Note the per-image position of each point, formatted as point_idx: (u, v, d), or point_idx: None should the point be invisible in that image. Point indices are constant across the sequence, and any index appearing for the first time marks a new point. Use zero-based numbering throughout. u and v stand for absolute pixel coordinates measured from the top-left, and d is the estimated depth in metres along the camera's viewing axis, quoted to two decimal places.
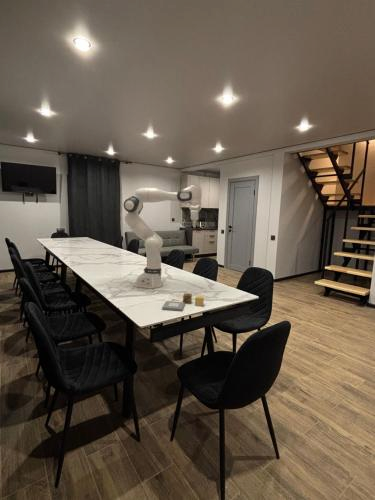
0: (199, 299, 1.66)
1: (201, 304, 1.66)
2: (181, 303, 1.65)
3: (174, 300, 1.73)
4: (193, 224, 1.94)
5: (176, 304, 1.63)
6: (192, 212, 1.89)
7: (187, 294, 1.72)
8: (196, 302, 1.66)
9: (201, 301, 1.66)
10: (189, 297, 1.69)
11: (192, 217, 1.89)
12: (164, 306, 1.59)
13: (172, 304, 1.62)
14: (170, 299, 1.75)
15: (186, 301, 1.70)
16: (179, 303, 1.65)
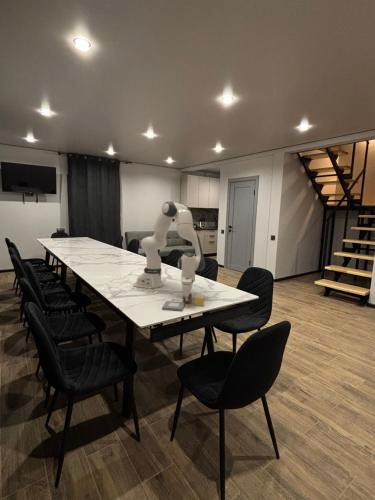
0: (199, 299, 1.66)
1: (201, 304, 1.66)
2: (181, 303, 1.65)
3: (174, 300, 1.73)
4: (186, 299, 1.68)
5: (176, 304, 1.63)
6: (184, 288, 1.62)
7: None
8: (196, 302, 1.66)
9: (201, 301, 1.66)
10: (189, 297, 1.69)
11: (184, 294, 1.62)
12: (164, 306, 1.59)
13: (172, 304, 1.62)
14: (170, 299, 1.75)
15: (186, 301, 1.70)
16: (179, 303, 1.65)
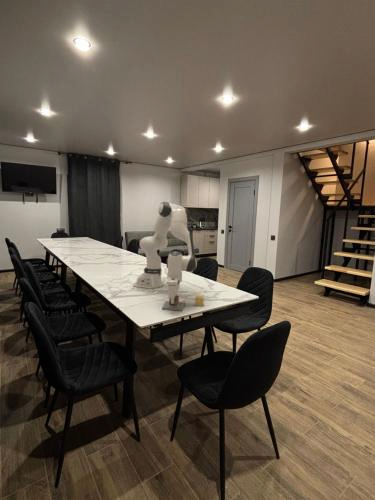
0: (199, 299, 1.66)
1: (201, 304, 1.66)
2: (181, 303, 1.65)
3: None
4: (171, 301, 1.57)
5: None
6: (170, 289, 1.51)
7: None
8: (196, 302, 1.66)
9: (201, 301, 1.66)
10: (175, 299, 1.59)
11: (169, 295, 1.51)
12: (164, 306, 1.59)
13: None
14: None
15: (172, 304, 1.60)
16: (179, 303, 1.65)
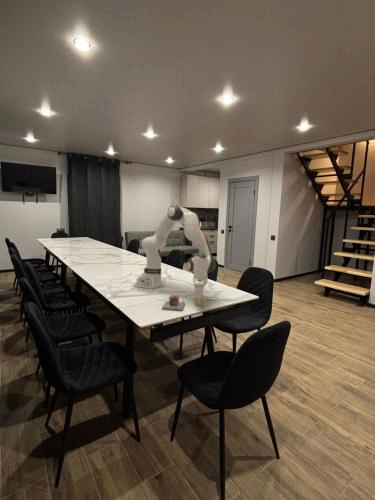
0: None
1: (201, 304, 1.66)
2: (181, 303, 1.65)
3: None
4: (198, 301, 1.64)
5: None
6: (197, 290, 1.58)
7: (174, 296, 1.62)
8: (196, 302, 1.66)
9: (201, 301, 1.66)
10: (175, 299, 1.59)
11: (197, 296, 1.58)
12: (164, 306, 1.59)
13: None
14: None
15: (172, 304, 1.60)
16: (179, 303, 1.65)
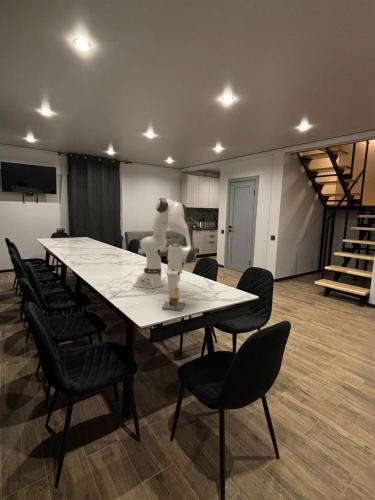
0: None
1: (176, 296, 1.59)
2: (181, 303, 1.65)
3: None
4: (172, 292, 1.56)
5: None
6: (170, 280, 1.51)
7: None
8: (170, 294, 1.59)
9: (175, 293, 1.59)
10: (175, 299, 1.59)
11: (170, 286, 1.51)
12: (164, 306, 1.59)
13: None
14: None
15: (172, 304, 1.60)
16: (179, 303, 1.65)
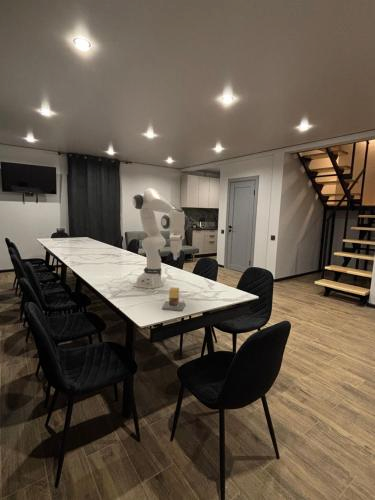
0: (173, 291, 1.59)
1: (176, 296, 1.59)
2: (181, 303, 1.65)
3: None
4: (174, 257, 1.58)
5: None
6: (173, 244, 1.53)
7: None
8: (170, 294, 1.59)
9: (175, 293, 1.59)
10: (175, 299, 1.59)
11: (172, 250, 1.53)
12: (164, 306, 1.59)
13: None
14: None
15: (172, 304, 1.60)
16: (179, 303, 1.65)
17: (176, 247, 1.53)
